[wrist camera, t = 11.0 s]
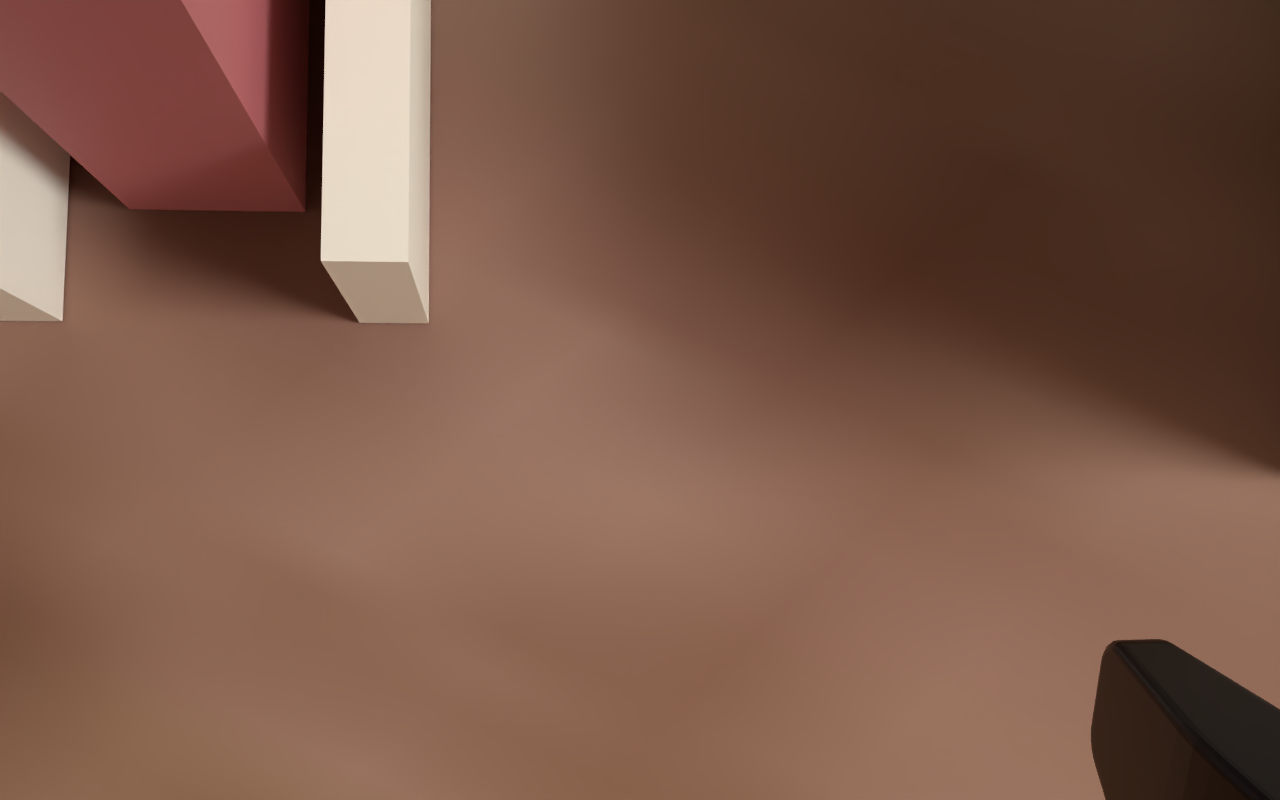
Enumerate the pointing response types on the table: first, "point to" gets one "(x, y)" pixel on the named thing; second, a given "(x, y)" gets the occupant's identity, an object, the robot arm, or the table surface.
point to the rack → (351, 174)
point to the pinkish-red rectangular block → (169, 96)
